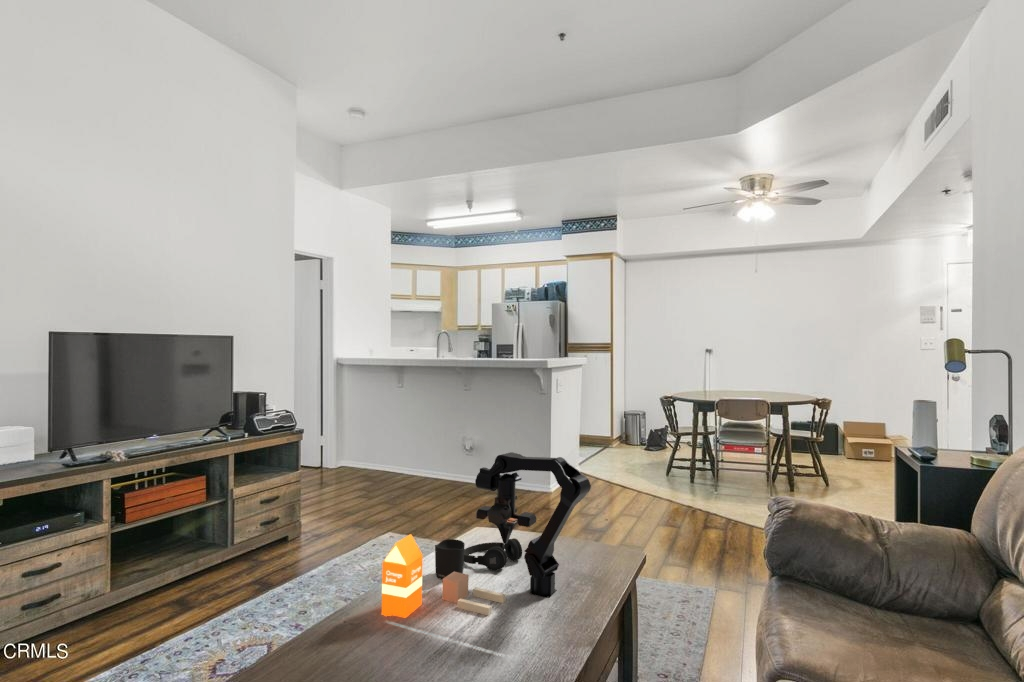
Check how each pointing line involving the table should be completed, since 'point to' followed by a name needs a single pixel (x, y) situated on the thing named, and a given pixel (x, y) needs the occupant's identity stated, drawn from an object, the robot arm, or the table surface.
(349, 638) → the table surface
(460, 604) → the beige railed tray
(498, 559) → the headphones
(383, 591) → the orange juice
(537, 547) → the robot arm
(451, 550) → the pen holder
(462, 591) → the block
